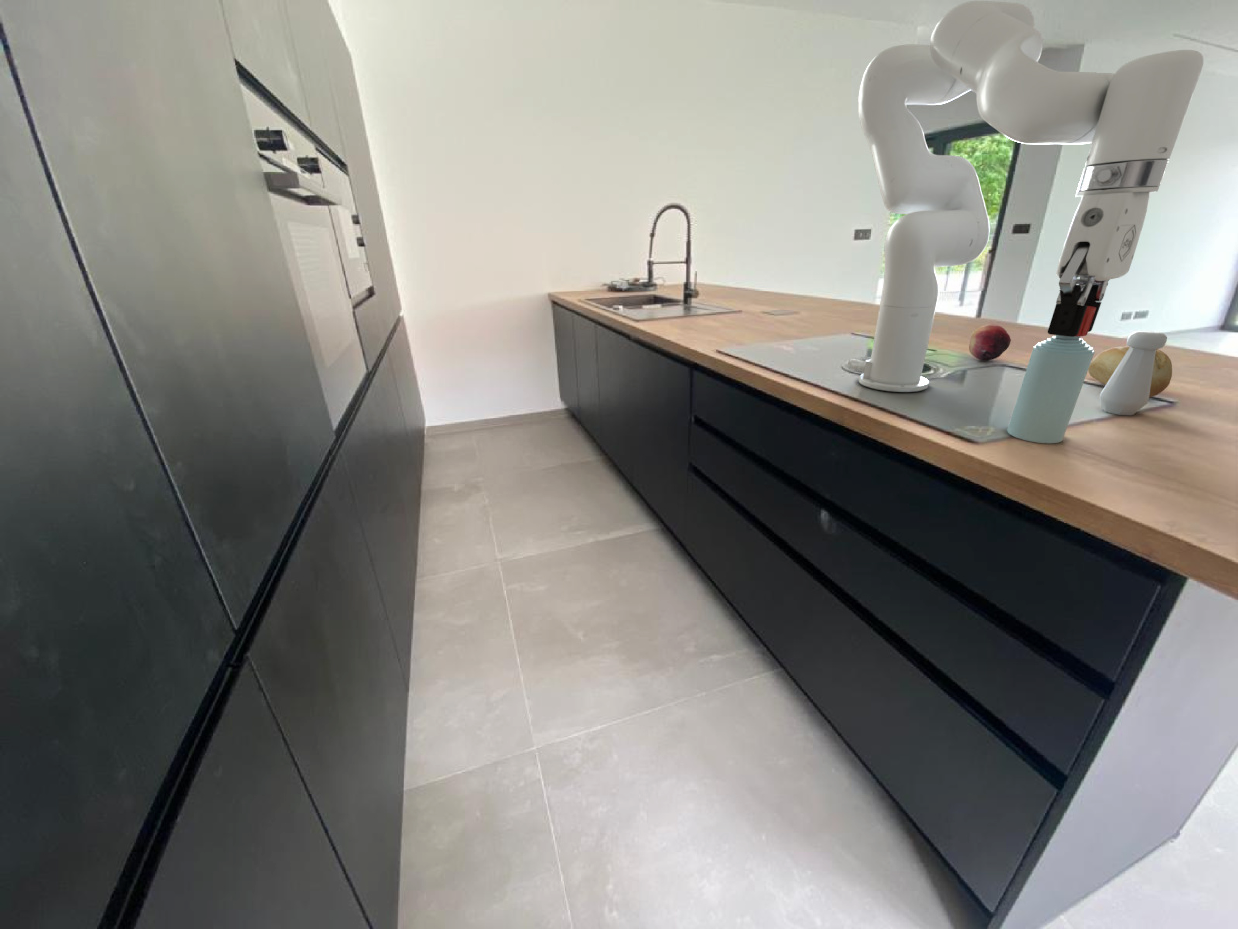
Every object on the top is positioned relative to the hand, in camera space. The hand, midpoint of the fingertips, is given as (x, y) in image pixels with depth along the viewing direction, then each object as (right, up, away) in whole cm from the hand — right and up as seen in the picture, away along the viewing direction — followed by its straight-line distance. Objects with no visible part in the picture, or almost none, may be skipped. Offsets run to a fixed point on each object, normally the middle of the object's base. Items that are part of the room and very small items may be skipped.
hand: (1069, 331), depth 69 cm
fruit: (+23, +6, +48) cm, 54 cm away
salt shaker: (+21, -10, +14) cm, 27 cm away
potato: (+32, -4, +25) cm, 41 cm away
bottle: (0, -14, +6) cm, 15 cm away
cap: (0, 0, 0) cm, 0 cm away
